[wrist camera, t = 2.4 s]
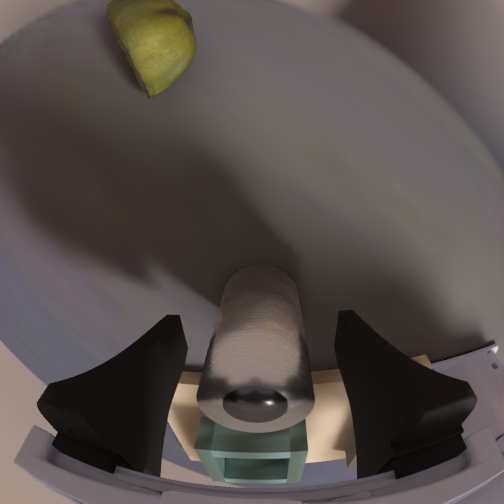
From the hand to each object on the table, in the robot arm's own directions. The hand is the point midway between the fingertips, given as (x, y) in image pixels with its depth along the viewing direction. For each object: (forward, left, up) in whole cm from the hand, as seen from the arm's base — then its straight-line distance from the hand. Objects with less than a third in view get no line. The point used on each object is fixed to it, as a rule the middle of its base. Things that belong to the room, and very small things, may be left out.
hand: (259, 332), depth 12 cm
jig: (-2, +13, -3) cm, 13 cm away
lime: (+4, -13, -3) cm, 14 cm away
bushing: (0, 0, -3) cm, 3 cm away
